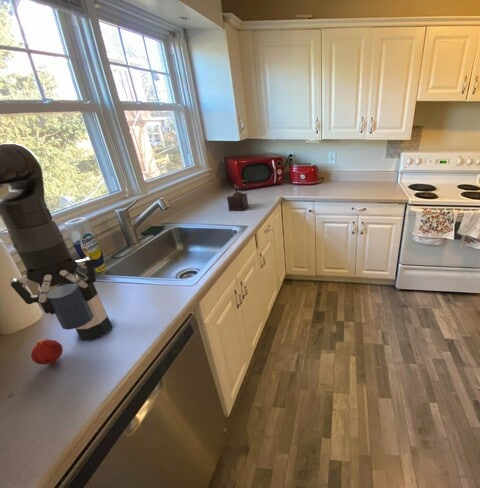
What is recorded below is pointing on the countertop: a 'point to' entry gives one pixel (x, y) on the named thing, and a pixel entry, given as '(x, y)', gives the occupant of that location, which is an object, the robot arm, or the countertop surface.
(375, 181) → the countertop surface
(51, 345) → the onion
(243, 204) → the manual coffee grinder
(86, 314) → the cup
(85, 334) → the wine bottle
